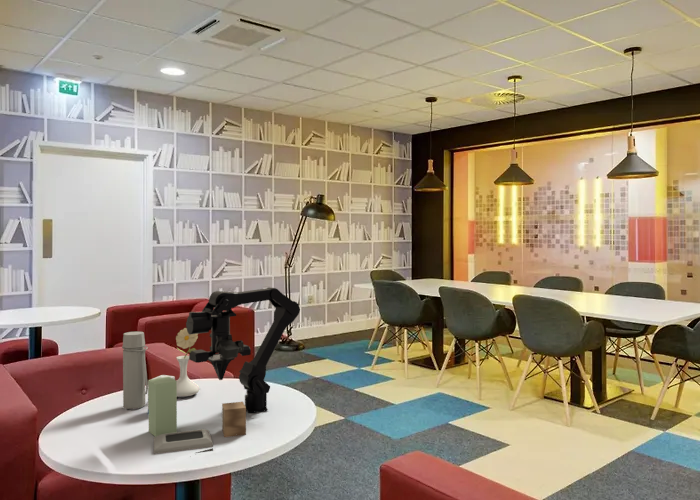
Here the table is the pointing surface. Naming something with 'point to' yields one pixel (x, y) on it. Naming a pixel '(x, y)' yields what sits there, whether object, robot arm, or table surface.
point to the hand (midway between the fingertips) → (220, 379)
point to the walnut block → (233, 419)
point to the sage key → (162, 406)
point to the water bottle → (134, 370)
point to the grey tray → (183, 441)
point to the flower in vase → (185, 364)
